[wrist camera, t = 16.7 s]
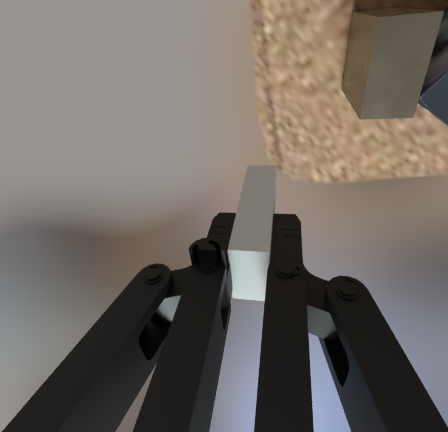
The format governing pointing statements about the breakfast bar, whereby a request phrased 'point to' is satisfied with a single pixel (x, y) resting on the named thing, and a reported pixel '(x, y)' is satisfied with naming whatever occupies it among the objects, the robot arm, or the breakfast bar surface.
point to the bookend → (388, 60)
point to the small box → (437, 76)
